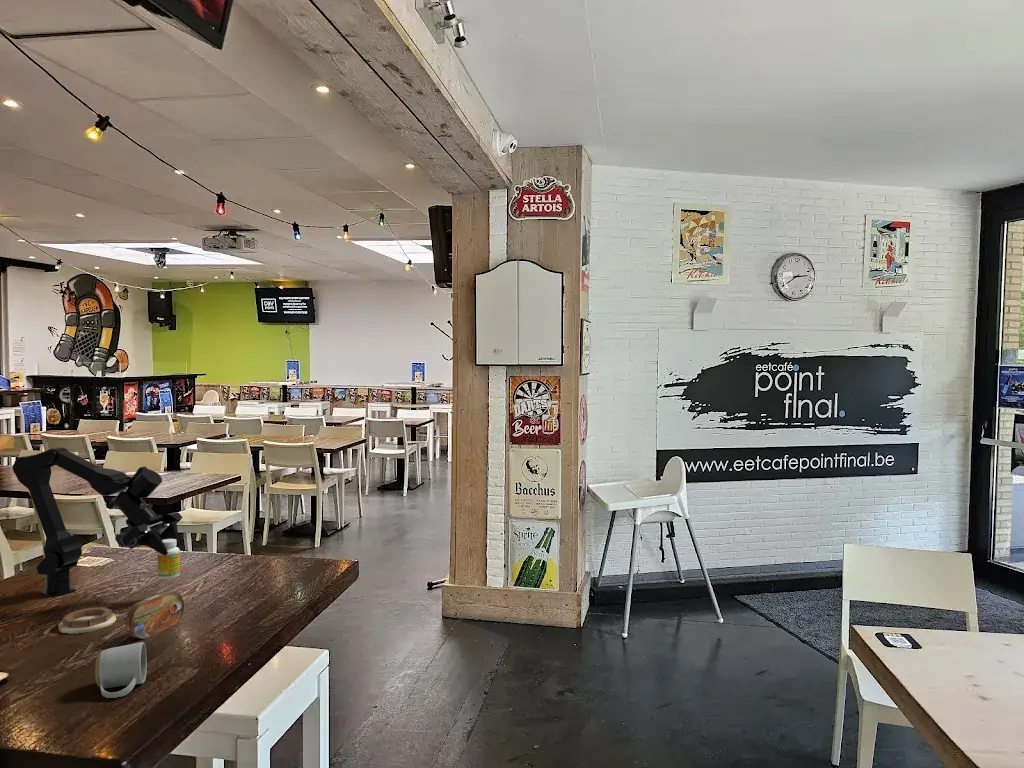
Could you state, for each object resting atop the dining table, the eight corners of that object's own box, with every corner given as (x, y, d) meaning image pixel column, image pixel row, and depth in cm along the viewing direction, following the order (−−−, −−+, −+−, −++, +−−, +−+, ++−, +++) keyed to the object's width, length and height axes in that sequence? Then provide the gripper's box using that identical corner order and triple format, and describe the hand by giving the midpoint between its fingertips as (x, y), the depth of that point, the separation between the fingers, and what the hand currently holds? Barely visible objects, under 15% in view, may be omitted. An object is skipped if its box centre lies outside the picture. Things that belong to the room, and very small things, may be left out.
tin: (133, 644, 160) (132, 607, 160) (123, 642, 161) (122, 605, 161) (185, 621, 174) (184, 587, 174) (175, 620, 175) (174, 586, 175)
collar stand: (49, 626, 171) (49, 616, 171) (101, 612, 180) (101, 602, 180) (72, 637, 164) (72, 627, 164) (125, 622, 173) (125, 612, 173)
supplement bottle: (171, 579, 188) (170, 543, 188) (153, 578, 190) (152, 542, 189) (184, 573, 194) (183, 538, 193) (166, 572, 195) (166, 537, 194)
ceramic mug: (101, 679, 142) (100, 641, 141) (147, 673, 145) (146, 636, 144) (91, 704, 132) (89, 663, 131) (140, 696, 135) (139, 657, 134)
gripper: (139, 522, 203) (175, 562, 201) (91, 537, 184) (130, 582, 183) (164, 495, 201) (200, 535, 200) (118, 508, 183) (158, 553, 182)
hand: (173, 551), depth 191 cm, fingers closed on supplement bottle, 5 cm apart
